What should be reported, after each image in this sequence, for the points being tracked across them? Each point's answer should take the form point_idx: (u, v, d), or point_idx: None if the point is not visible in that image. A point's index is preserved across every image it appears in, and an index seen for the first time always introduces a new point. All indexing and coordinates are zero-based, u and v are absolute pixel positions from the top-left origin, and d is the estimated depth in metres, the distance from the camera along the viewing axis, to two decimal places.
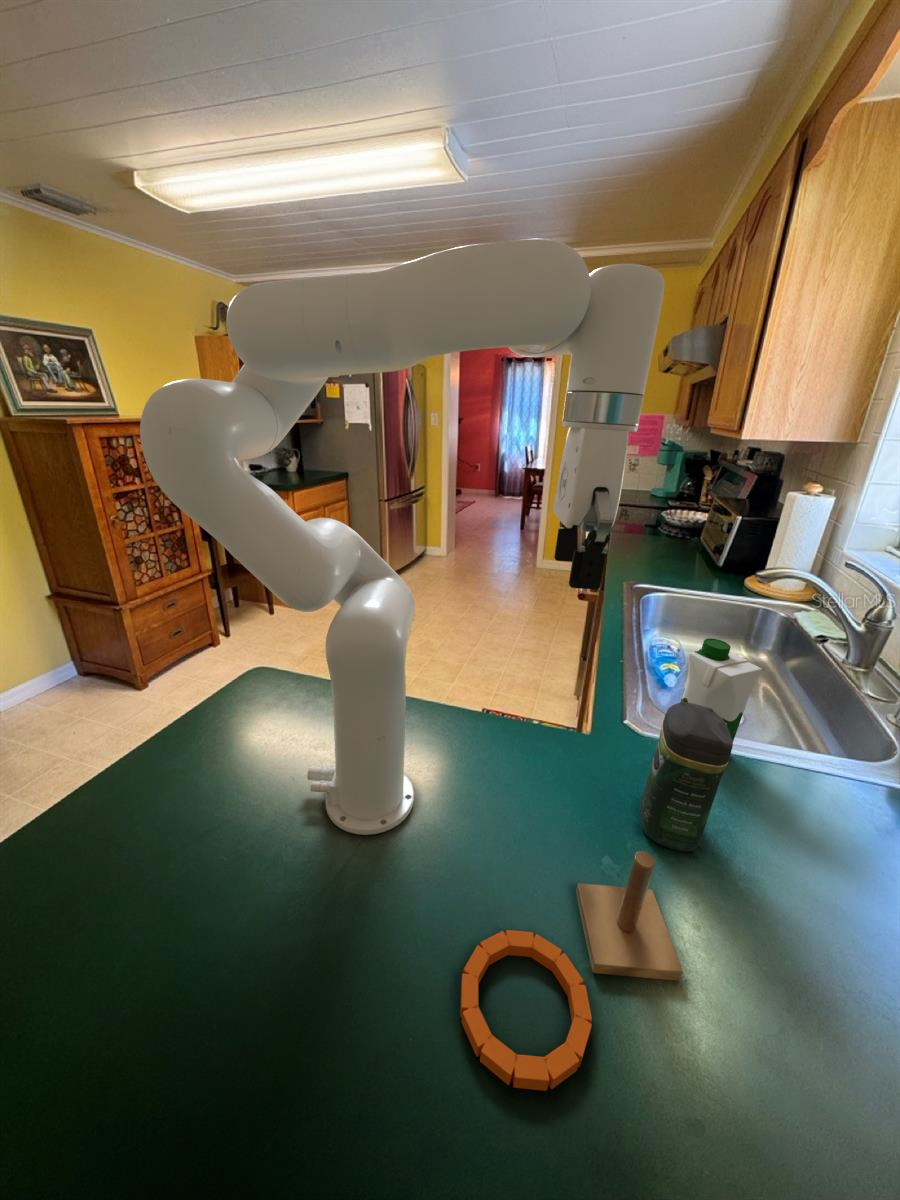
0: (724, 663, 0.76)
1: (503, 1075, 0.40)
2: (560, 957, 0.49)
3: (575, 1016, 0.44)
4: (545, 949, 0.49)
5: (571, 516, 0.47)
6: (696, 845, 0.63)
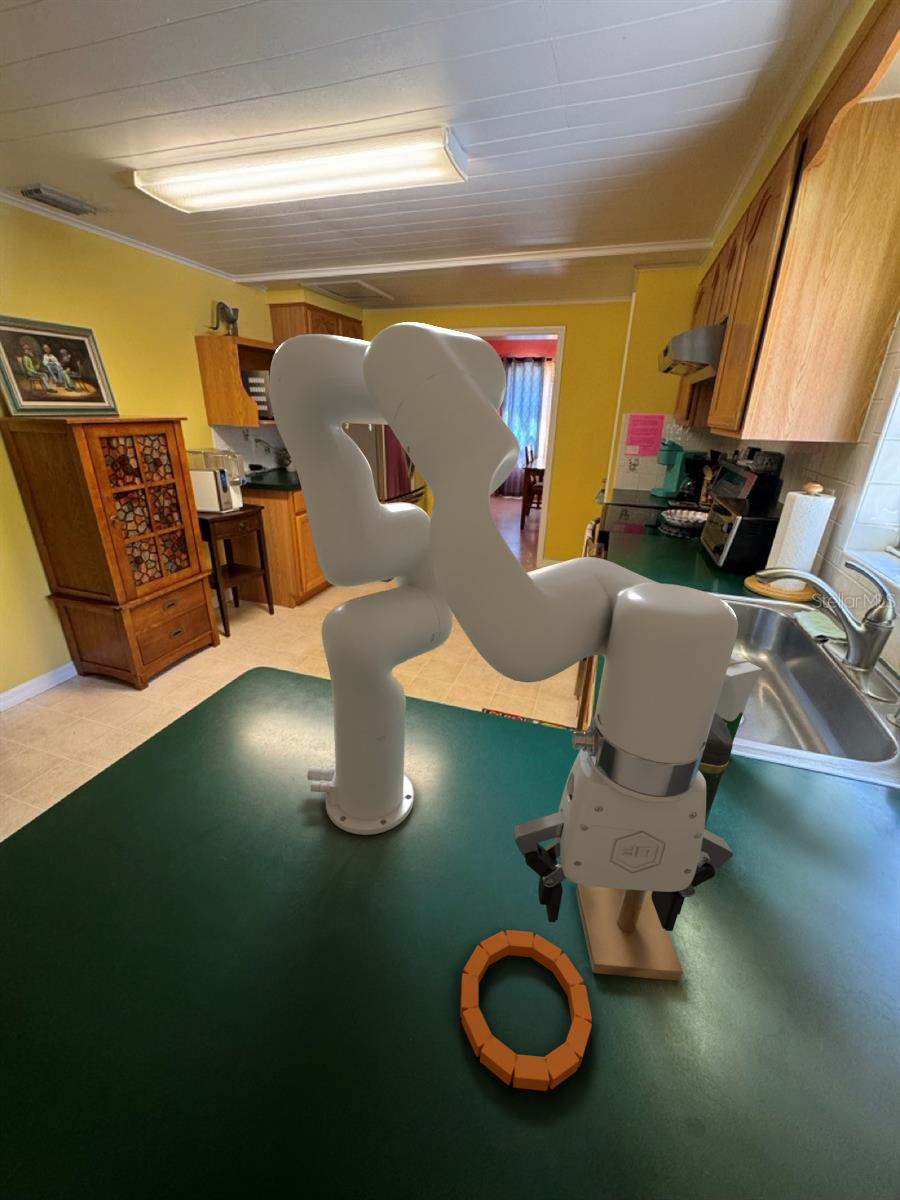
0: None
1: (503, 1075, 0.40)
2: (560, 957, 0.49)
3: (575, 1016, 0.44)
4: (545, 949, 0.49)
5: (692, 878, 0.36)
6: None
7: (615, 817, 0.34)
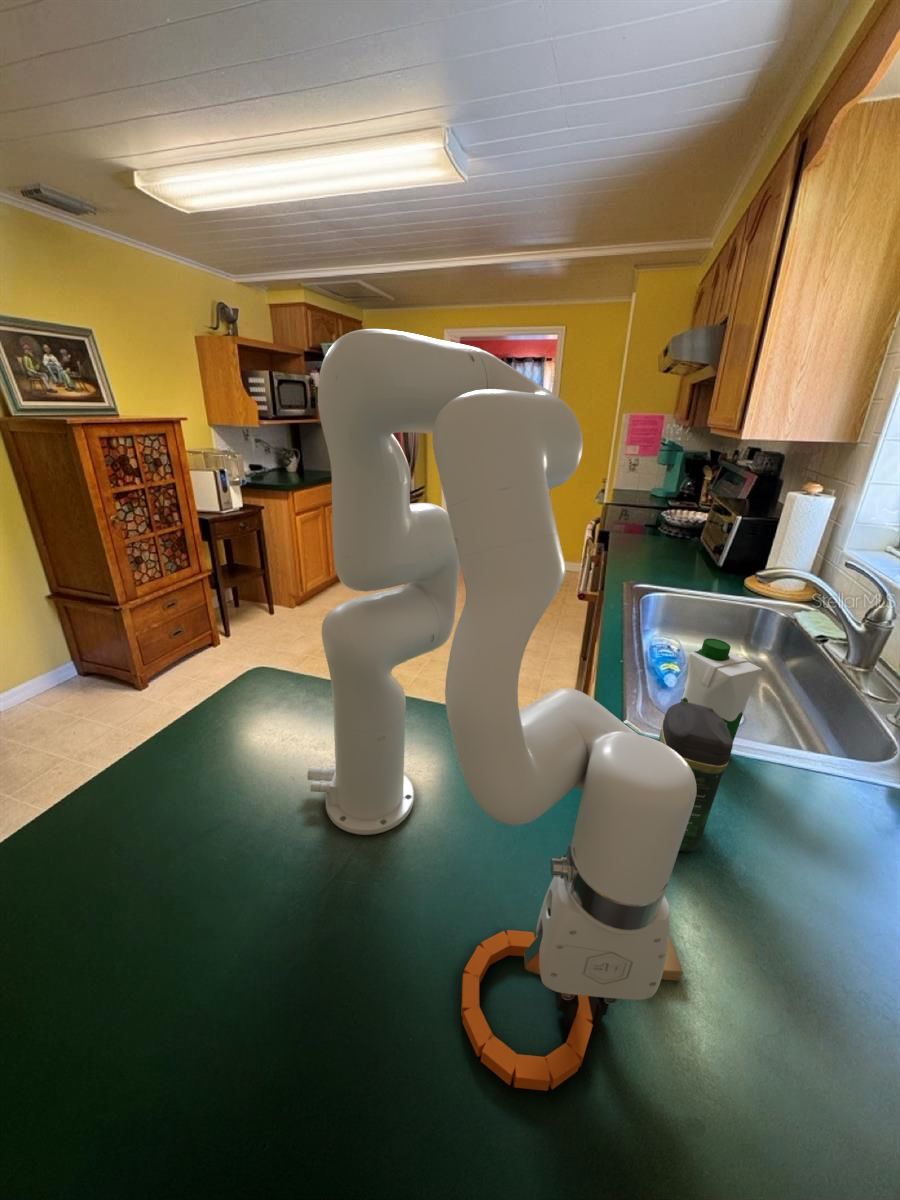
0: (724, 663, 0.76)
1: (503, 1075, 0.40)
2: None
3: (576, 1016, 0.44)
4: None
5: (657, 988, 0.40)
6: (696, 845, 0.63)
7: (587, 940, 0.38)
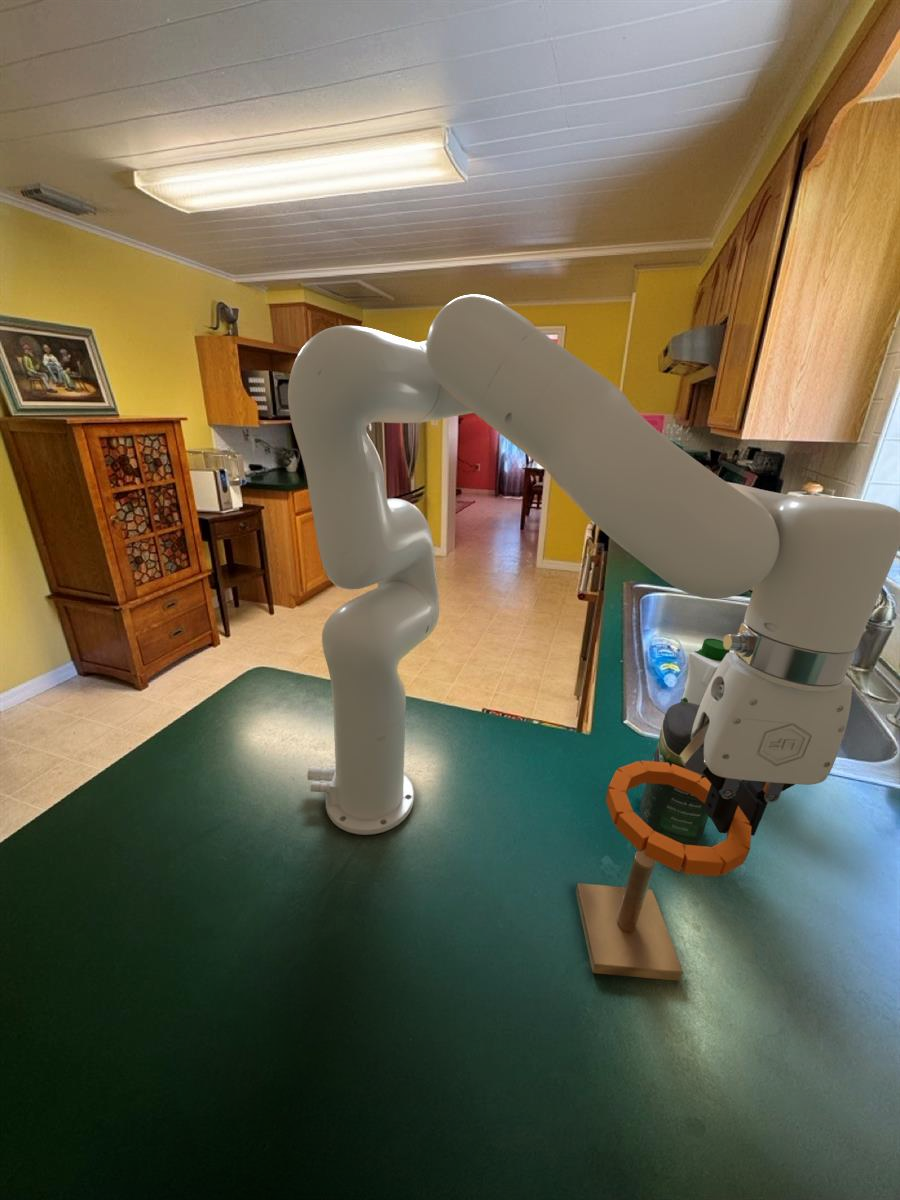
0: None
1: (673, 862, 0.40)
2: (702, 780, 0.48)
3: None
4: (685, 774, 0.49)
5: None
6: (696, 845, 0.63)
7: (768, 710, 0.37)
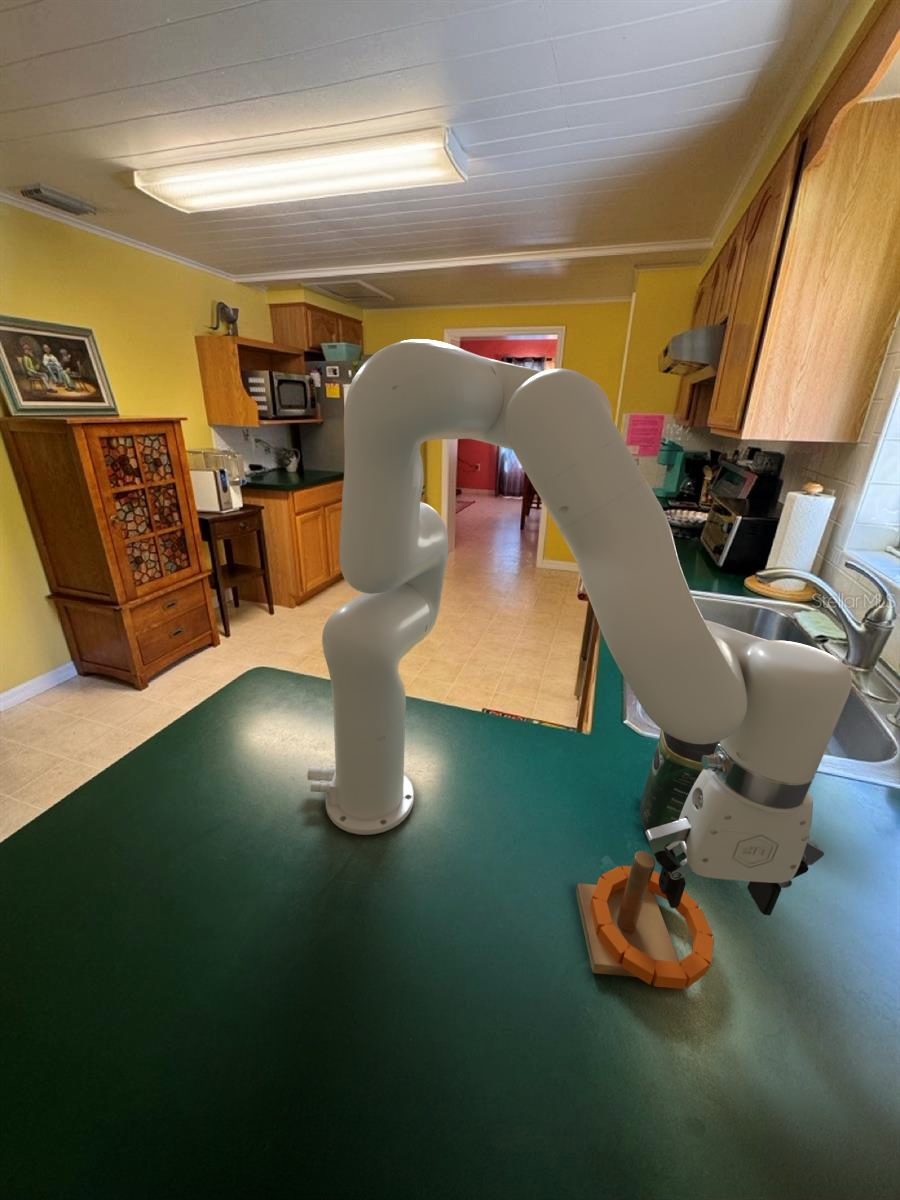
0: None
1: (645, 976, 0.47)
2: None
3: (698, 931, 0.50)
4: None
5: (795, 872, 0.45)
6: None
7: (740, 824, 0.43)
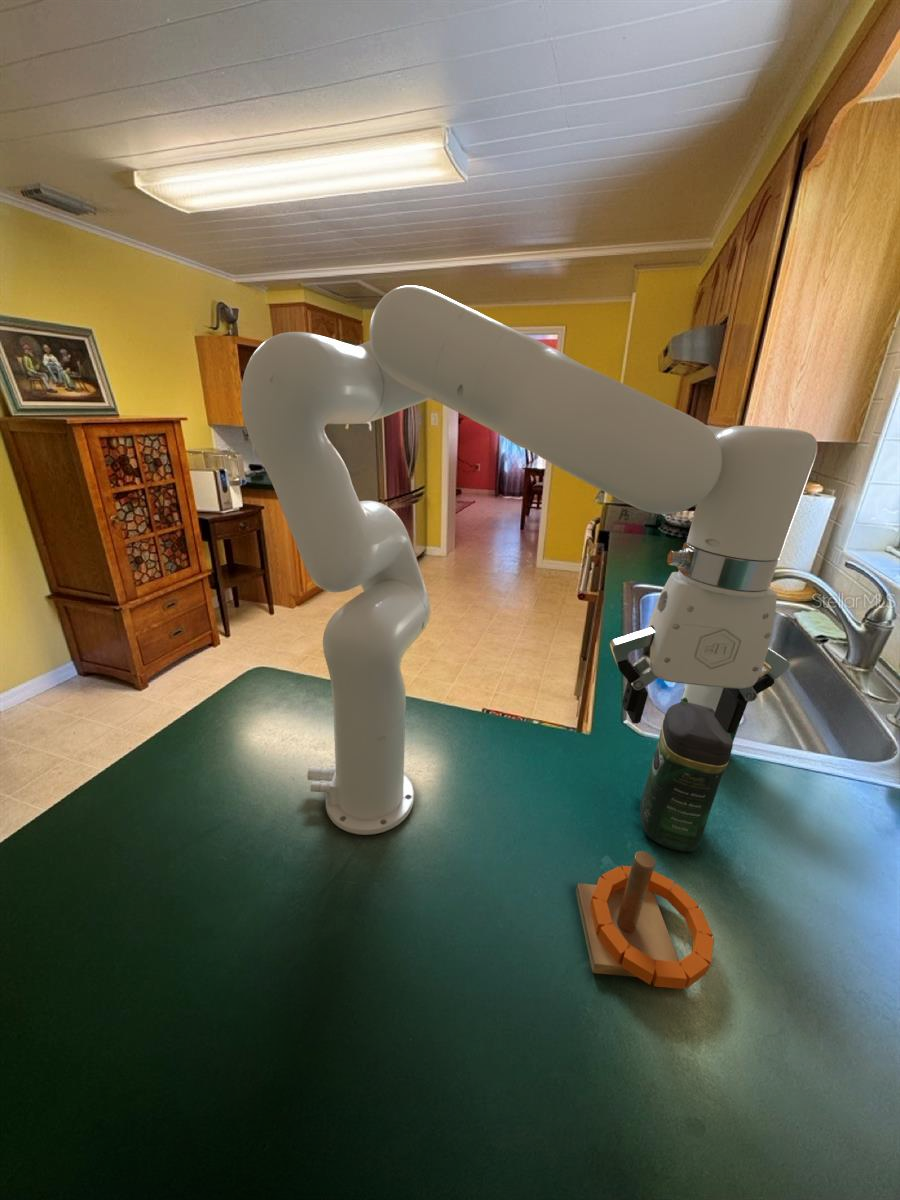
0: None
1: (645, 976, 0.47)
2: (674, 887, 0.55)
3: (698, 931, 0.50)
4: (660, 880, 0.56)
5: (758, 677, 0.45)
6: (696, 845, 0.63)
7: (703, 616, 0.43)
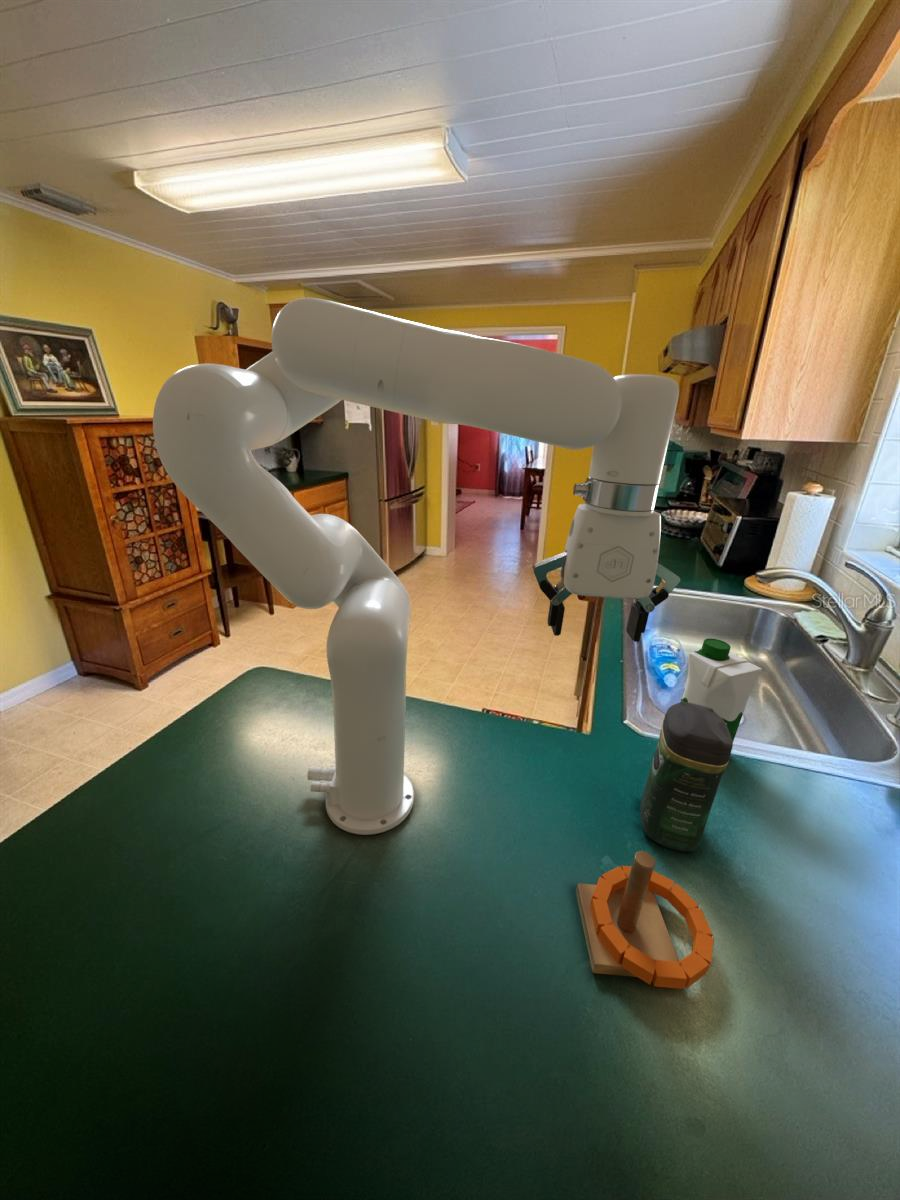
0: (724, 663, 0.76)
1: (645, 976, 0.47)
2: (674, 887, 0.55)
3: (698, 931, 0.50)
4: (660, 880, 0.56)
5: (651, 588, 0.54)
6: (696, 845, 0.63)
7: (601, 535, 0.52)
